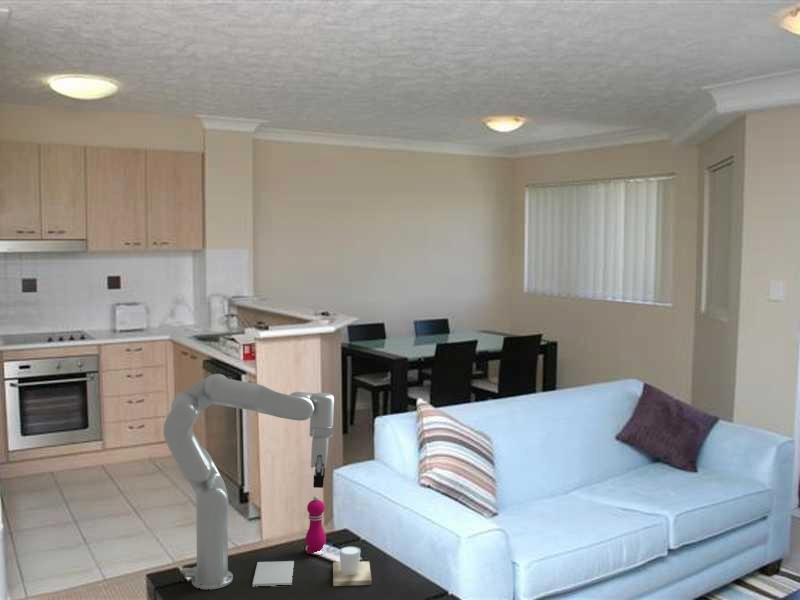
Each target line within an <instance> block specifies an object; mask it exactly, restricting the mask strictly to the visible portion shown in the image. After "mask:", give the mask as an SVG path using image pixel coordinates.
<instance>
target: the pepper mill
mask: <svg viewBox="0 0 800 600" xmlns="http://www.w3.org/2000/svg"><path fill="white" fill-rule="evenodd" d="M306 509H307V512H308V519H309V527H308V530H307V532H306V534H305V535H306V536H305V539H304V540H305V545H306V553H307V552H308V553H314V552H317V551H320V550H321V549H322V548H323V546H325V545H326V543H327V536H326V533H325V531H324V528H323V522H322V520H323V519H324V514H323V513H324V512H325V503H324V502H323V501H322V500H320V499H319V496H318V495H314V496H313V499H312V500H310V501H309V502H308V503H307V508H306Z"/></svg>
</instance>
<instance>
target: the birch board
mask: <svg viewBox="0 0 800 600" xmlns="http://www.w3.org/2000/svg"><path fill="white" fill-rule="evenodd" d="M332 570H333V571H332V586H333V587H343V586H344V587H345V586H346V587H347V586H372V581H373V579H372V572H371V563H370V561H369V560H367V561H360V562H359V572H358V573H357V574H355V575H344V574H342V572H341V563H340V561H333V562H332Z"/></svg>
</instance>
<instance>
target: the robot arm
mask: <svg viewBox="0 0 800 600" xmlns="http://www.w3.org/2000/svg"><path fill="white" fill-rule="evenodd" d="M211 405H216V406H221V407H229V408H235V409H240V410H247V411H253V412H256V413H260V414H263V415H268V416H271V417H272V416H273V417H276V418H281V419H284V420H285V419H286V420H292V421H300V422H301V421H306V420H309V437H311V438H312V439H311V440H312V441H311V453H310V454H311V457H310V468H311V469H313V468H314V474H313V483H312V484H313V485H312V486H313V488H317V489H318V488H320V489H323V488H324V483H325V482H324V481H325V474H326V472H325V471H326V470H325V469H326V467H327V461H328V454H329V442H330V441H329V439H330V438H332V437H333V433H334V413H335V412H334V411H335V410H334V409H335V396H334V395H333V394H332V393H328V392H316V393H314V392H313V393H311V392H305V391H294V392H291V393H290V394H286V393H281V392H278V391H275V390H272V389H271V388H268V387H267V386H264V385H262V384H259V383H254V382H247V381H243V380H237V379H232V378H228V377H226V375H224V374H221V373H214V374H211V375H209V376H207V377H205V378H203V379H202V380H200V381H199V382H197V383H195V384H194V385H192V386H191V387H189V388H188V387H187V388H186V389H185V390H183V391H181V392H180V393H178V394H177V395H176V396H175V397H174V398H173V399H172V401H171V406H170V407H171V410H170V411H169V413H168V414H167V417H166V419H165V421H164V424H163V437H164V440H165V443H166V445H167V446H168V450H169V451H170V452H171V455H172V457H173V459H174V461H175V462H176V465H177V468H179V471H180V473H181V475H182V478H184V479H185V481H187V482H188V483H189V485H190V486H191V489H193V491H194V494H195V500H196V501H195V504H196V506H195V508H196V519H195V520H196V521H195V522H196V528H195V529H196V530H195V531H196V566H193V567H183V568H182V575H184V577H185V578H190V577H192V578H191V584H192V586H193V587H194V588H196V589H199V588H200V590H208V589H209V590H216V589H221V588H224V587H226V586H228V585H230V584H231V583H232V582H233V579H234V575H233V573H232V572H231V571H229V560H228V559H229V555H228V554H229V553H228V552H229V551H228V550H229V549H228V548H229V543H228V542H229V539H228V537H229V536H228V535H229V534H228V533H229V530H228V524H229V523H228V522H229V519H228V517H229V515H228V514H229V495H228V491H227V487H226V483H225V481H224V479H223V477H222V475H221V473H220V471H219V469H218V468H217V466H216V464H215V463H214V461H213V458H212V457H211V455H210V453H209V452H208V451H207V450H206V449H205V448H204V447H202V446H201V445H200V442H199V440H198V438H197V436H196V435H195V432H194V429H193V428H194V425H195V423H196V422H197V420H198V419H199V417H200V414H201V412H202V411H203V410H205V409H206V408H208V407H210V406H211ZM209 590H208V591H209Z"/></svg>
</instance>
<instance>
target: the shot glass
mask: <svg viewBox="0 0 800 600" xmlns="http://www.w3.org/2000/svg"><path fill="white" fill-rule="evenodd" d="M361 550H362V549H361V548H360V547H357V546H345V547H341V548H340V549H339V562H340V563H341V572H342V574H344V575H355V574H357V573H358V572H359V562H361V561H360V560H361V559H360V558H361V553H362V551H361Z"/></svg>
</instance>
